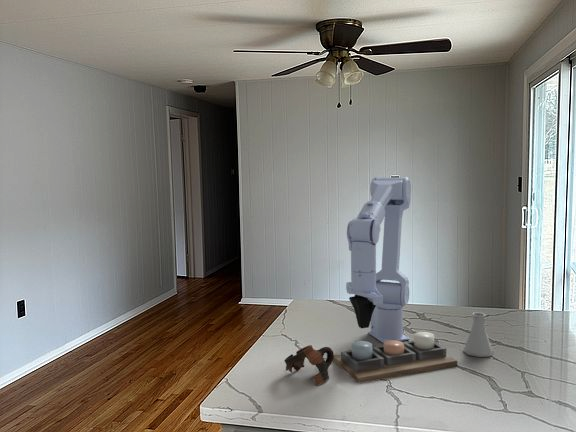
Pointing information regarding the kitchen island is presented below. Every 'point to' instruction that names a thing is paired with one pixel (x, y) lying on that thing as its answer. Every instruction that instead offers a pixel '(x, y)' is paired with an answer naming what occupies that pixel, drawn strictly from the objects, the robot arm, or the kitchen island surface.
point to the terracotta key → (393, 347)
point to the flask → (478, 338)
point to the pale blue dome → (361, 350)
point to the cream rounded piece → (424, 341)
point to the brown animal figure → (312, 361)
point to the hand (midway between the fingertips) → (363, 327)
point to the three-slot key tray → (394, 362)
